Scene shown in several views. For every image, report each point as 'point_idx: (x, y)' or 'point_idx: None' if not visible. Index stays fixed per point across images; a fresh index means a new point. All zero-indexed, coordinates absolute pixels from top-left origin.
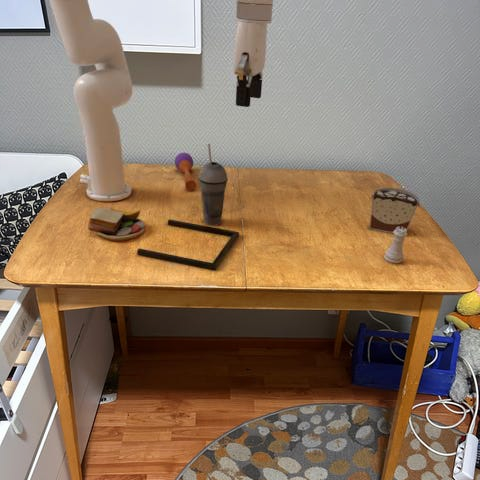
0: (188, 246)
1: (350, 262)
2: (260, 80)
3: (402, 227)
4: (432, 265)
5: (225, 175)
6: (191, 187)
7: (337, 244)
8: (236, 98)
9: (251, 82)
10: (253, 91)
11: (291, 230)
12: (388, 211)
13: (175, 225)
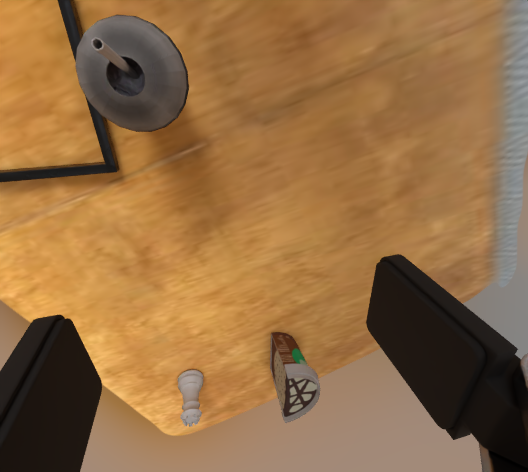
0: None
1: (148, 345)
2: (452, 429)
3: (197, 420)
4: (201, 406)
5: (141, 129)
6: None
7: (195, 316)
8: (9, 363)
9: (448, 355)
10: (394, 318)
11: (206, 246)
12: (279, 373)
13: None
